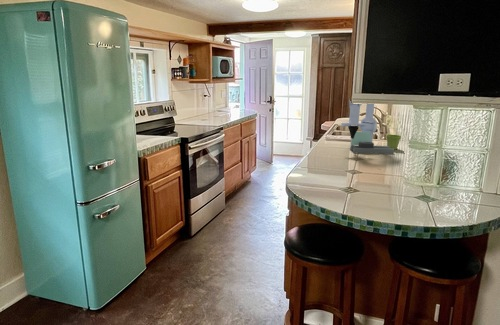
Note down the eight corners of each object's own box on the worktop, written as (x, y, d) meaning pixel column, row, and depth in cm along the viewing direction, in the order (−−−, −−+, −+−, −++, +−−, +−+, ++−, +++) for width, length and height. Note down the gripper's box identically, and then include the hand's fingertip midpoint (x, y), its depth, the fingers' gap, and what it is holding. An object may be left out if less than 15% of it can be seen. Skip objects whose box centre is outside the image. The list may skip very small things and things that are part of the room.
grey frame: (349, 149, 219) (349, 139, 218) (387, 149, 219) (388, 140, 218) (353, 153, 209) (354, 143, 207) (393, 153, 209) (394, 143, 207)
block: (358, 151, 215) (358, 141, 214) (370, 151, 215) (371, 142, 213) (359, 152, 211) (360, 143, 210) (372, 152, 211) (373, 143, 210)
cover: (351, 144, 216) (351, 144, 217) (370, 145, 216) (369, 145, 217) (351, 131, 216) (351, 131, 217) (370, 132, 216) (370, 132, 216)
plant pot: (397, 147, 227) (398, 134, 225) (401, 150, 218) (403, 137, 216) (382, 146, 228) (384, 134, 226) (386, 149, 219) (388, 136, 217)
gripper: (344, 116, 204) (342, 139, 207) (368, 117, 204) (366, 139, 207) (341, 115, 210) (339, 137, 214) (364, 115, 210) (362, 137, 214)
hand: (352, 138), depth 211 cm, fingers closed
